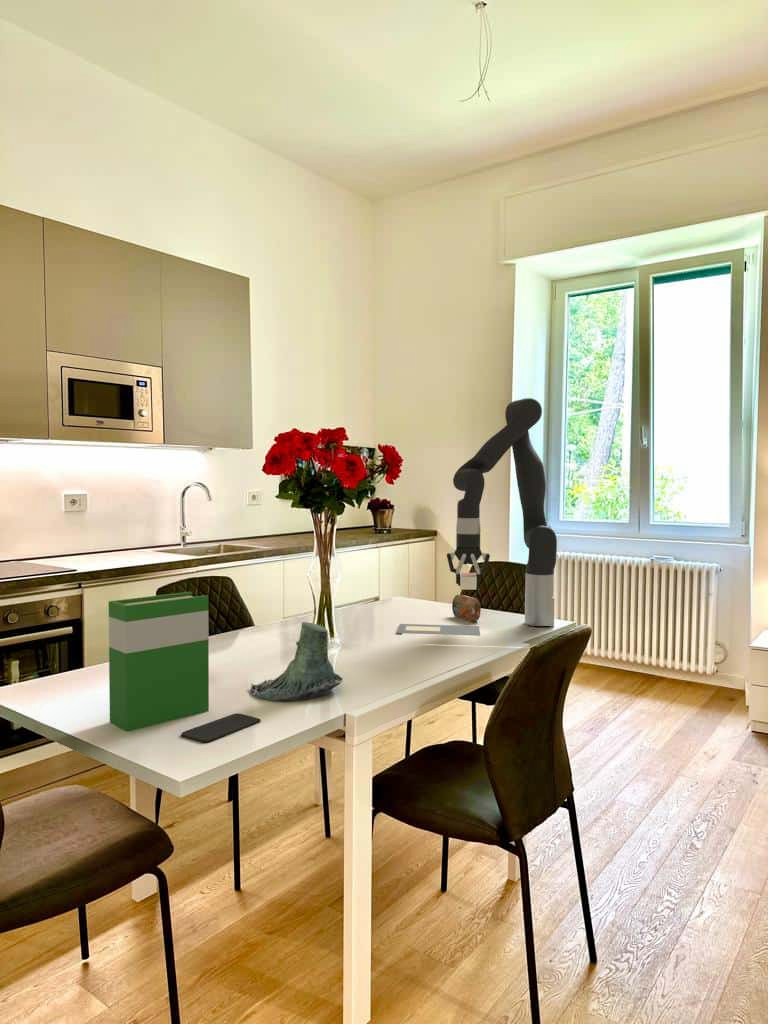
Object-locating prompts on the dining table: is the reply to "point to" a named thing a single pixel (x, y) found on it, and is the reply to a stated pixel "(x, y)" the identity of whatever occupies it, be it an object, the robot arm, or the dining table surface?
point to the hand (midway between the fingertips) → (468, 585)
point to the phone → (220, 728)
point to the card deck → (468, 581)
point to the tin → (466, 608)
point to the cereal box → (158, 659)
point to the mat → (438, 629)
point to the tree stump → (303, 670)
